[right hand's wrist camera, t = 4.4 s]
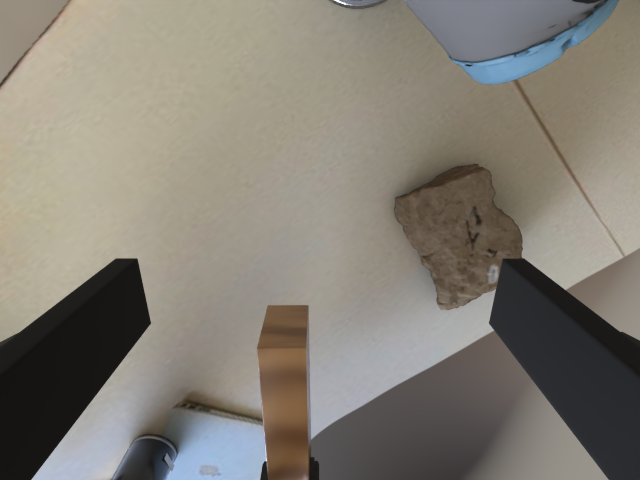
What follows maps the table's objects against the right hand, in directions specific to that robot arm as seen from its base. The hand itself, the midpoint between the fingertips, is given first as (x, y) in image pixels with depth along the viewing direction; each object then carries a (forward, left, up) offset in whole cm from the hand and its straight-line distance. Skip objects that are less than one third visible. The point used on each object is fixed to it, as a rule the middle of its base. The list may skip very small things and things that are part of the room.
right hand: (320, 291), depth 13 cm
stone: (-12, +22, -41) cm, 47 cm away
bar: (+20, +26, -30) cm, 45 cm away
